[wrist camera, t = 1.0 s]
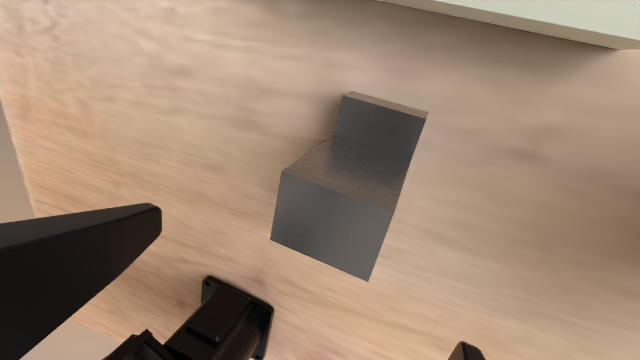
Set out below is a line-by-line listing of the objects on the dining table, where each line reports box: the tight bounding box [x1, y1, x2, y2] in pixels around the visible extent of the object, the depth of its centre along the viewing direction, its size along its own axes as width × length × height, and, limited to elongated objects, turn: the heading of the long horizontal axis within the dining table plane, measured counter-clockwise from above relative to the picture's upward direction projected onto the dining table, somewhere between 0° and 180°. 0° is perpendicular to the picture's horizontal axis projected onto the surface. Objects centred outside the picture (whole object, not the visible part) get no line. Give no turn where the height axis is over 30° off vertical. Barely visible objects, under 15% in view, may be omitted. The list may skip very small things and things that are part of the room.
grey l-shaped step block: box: [270, 91, 428, 282], centre depth 14 cm, size 5×4×8 cm
